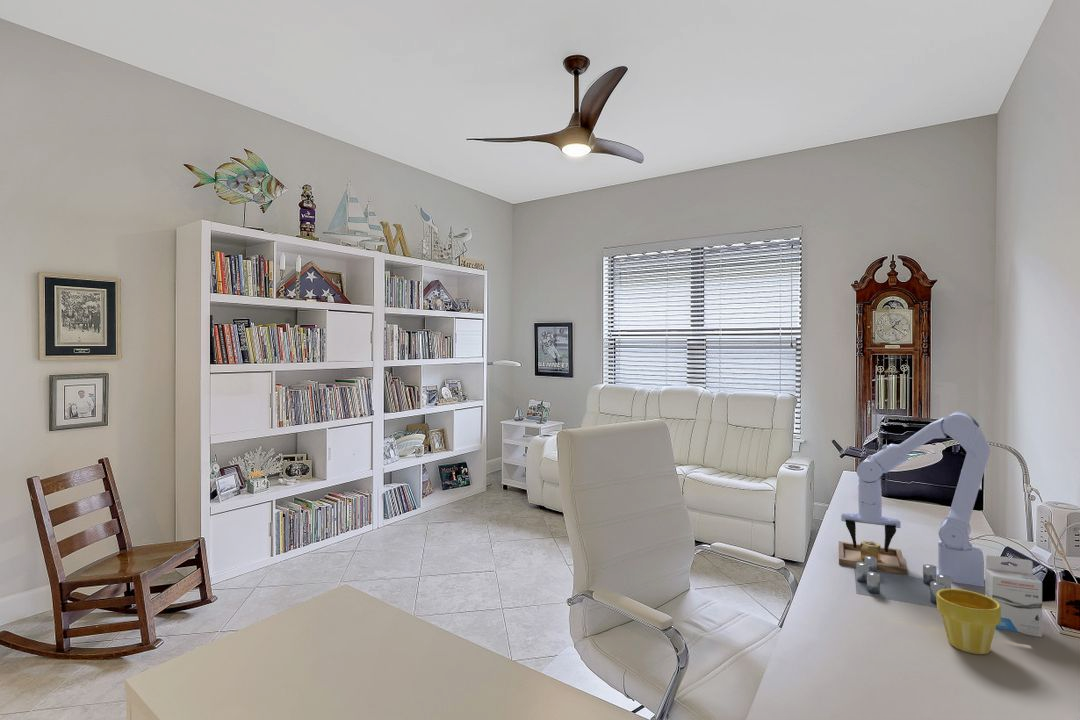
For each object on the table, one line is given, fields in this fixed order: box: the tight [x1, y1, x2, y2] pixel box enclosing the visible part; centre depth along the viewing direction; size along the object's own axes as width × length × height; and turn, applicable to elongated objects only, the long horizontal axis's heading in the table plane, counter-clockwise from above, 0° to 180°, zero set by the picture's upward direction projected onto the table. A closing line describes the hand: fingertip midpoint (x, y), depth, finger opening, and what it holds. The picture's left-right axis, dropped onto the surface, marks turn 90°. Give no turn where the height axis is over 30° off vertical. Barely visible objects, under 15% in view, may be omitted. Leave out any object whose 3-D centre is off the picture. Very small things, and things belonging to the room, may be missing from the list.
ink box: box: [984, 554, 1043, 638], centre depth 117 cm, size 9×5×15 cm, turn 65°
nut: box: [860, 540, 881, 562], centre depth 156 cm, size 4×5×5 cm
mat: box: [853, 567, 937, 609], centre depth 137 cm, size 21×18×1 cm
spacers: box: [855, 556, 952, 605], centre depth 137 cm, size 20×15×4 cm
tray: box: [838, 540, 908, 576], centre depth 156 cm, size 16×16×2 cm
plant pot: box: [936, 588, 1001, 655], centre depth 111 cm, size 10×10×10 cm
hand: (870, 548), depth 156 cm, fingers open, 7 cm apart
